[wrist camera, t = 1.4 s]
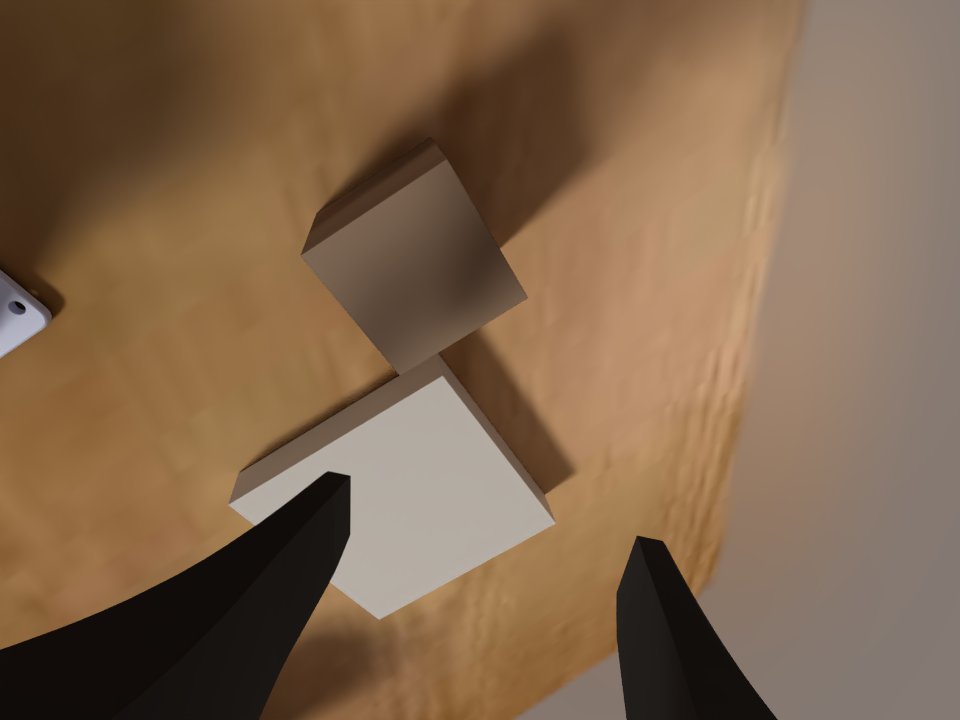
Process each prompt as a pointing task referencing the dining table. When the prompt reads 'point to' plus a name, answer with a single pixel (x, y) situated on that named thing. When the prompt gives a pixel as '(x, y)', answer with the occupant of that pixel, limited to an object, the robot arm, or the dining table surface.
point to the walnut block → (411, 259)
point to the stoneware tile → (407, 487)
